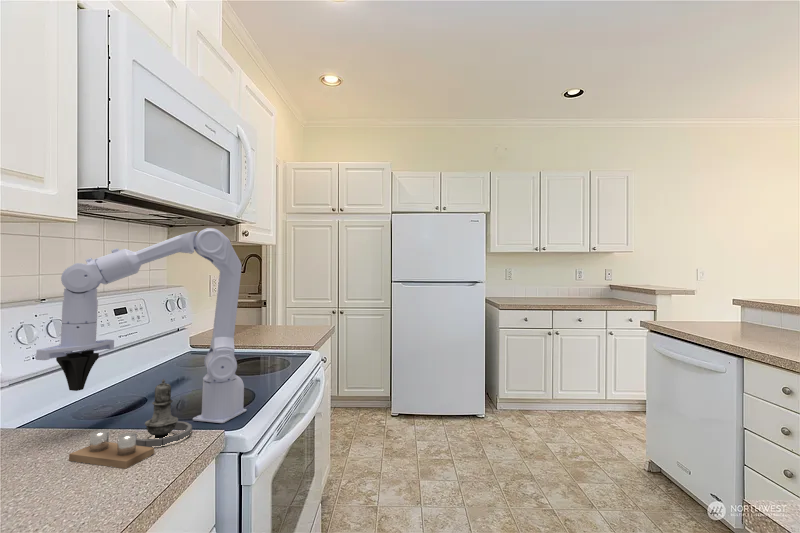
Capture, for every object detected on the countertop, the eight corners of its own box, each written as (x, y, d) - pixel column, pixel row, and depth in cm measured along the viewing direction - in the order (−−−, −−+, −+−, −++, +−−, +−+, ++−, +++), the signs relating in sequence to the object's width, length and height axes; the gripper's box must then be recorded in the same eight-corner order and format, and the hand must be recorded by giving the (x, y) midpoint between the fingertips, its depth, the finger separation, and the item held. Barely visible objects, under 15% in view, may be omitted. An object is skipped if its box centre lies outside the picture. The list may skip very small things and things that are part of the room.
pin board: (100, 447, 78) (101, 425, 78) (154, 454, 75) (155, 431, 75) (68, 460, 72) (70, 436, 72) (125, 468, 69) (126, 443, 69)
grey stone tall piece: (158, 446, 79) (161, 383, 79) (136, 442, 81) (139, 380, 81) (184, 436, 84) (186, 377, 85) (163, 431, 86) (165, 374, 87)
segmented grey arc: (175, 427, 89) (175, 420, 89) (202, 430, 87) (202, 423, 87) (132, 447, 78) (132, 439, 78) (162, 451, 76) (163, 443, 76)
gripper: (96, 319, 92) (94, 380, 91) (25, 325, 77) (21, 397, 77) (123, 320, 90) (120, 382, 89) (54, 326, 76) (50, 400, 75)
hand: (76, 389), depth 83 cm, fingers closed
